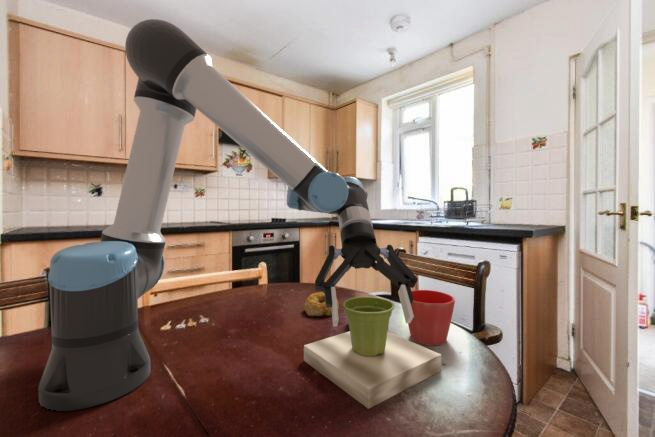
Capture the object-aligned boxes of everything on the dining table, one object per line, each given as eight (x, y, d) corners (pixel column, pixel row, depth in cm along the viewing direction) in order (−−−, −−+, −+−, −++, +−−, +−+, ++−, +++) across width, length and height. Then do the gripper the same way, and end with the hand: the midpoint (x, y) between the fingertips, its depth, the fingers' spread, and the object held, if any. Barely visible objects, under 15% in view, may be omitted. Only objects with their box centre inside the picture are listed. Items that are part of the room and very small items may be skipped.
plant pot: (394, 364, 53) (394, 313, 53) (339, 359, 55) (339, 310, 55) (394, 341, 62) (394, 298, 62) (347, 337, 64) (347, 295, 64)
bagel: (295, 314, 87) (295, 297, 87) (317, 304, 96) (317, 288, 96) (326, 321, 82) (326, 303, 82) (345, 309, 91) (345, 293, 91)
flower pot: (449, 353, 63) (449, 306, 63) (396, 341, 69) (397, 298, 68) (458, 335, 72) (458, 293, 72) (411, 326, 78) (411, 287, 77)
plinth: (368, 408, 46) (368, 388, 46) (303, 360, 60) (303, 345, 60) (441, 370, 56) (441, 354, 56) (371, 337, 71) (371, 324, 71)
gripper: (406, 241, 74) (433, 327, 60) (301, 242, 72) (303, 333, 57) (414, 219, 69) (447, 309, 54) (301, 220, 66) (304, 314, 52)
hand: (373, 321), depth 56 cm, fingers open, 13 cm apart
